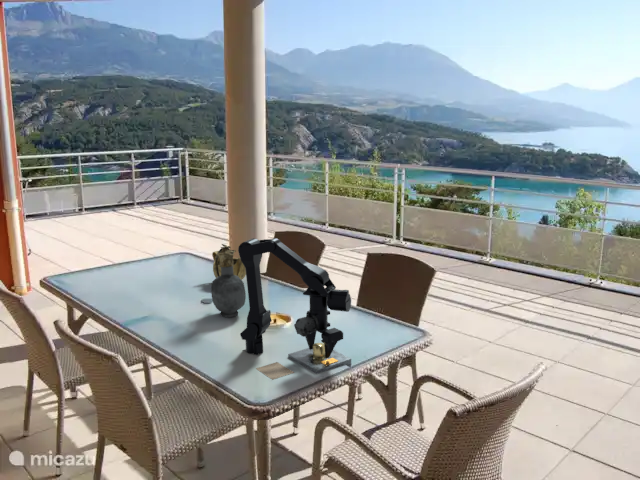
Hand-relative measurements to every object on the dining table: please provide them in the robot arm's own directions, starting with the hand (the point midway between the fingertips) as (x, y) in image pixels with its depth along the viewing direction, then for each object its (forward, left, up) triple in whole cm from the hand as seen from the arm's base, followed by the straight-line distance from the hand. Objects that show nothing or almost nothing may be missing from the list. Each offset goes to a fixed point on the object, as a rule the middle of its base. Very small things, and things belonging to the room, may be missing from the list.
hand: (319, 353), depth 179 cm
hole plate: (0, 0, -3) cm, 3 cm away
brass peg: (0, 0, -3) cm, 3 cm away
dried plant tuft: (-104, +22, -3) cm, 106 cm away
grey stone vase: (-63, -1, -3) cm, 63 cm away
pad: (-2, -16, -3) cm, 16 cm away
